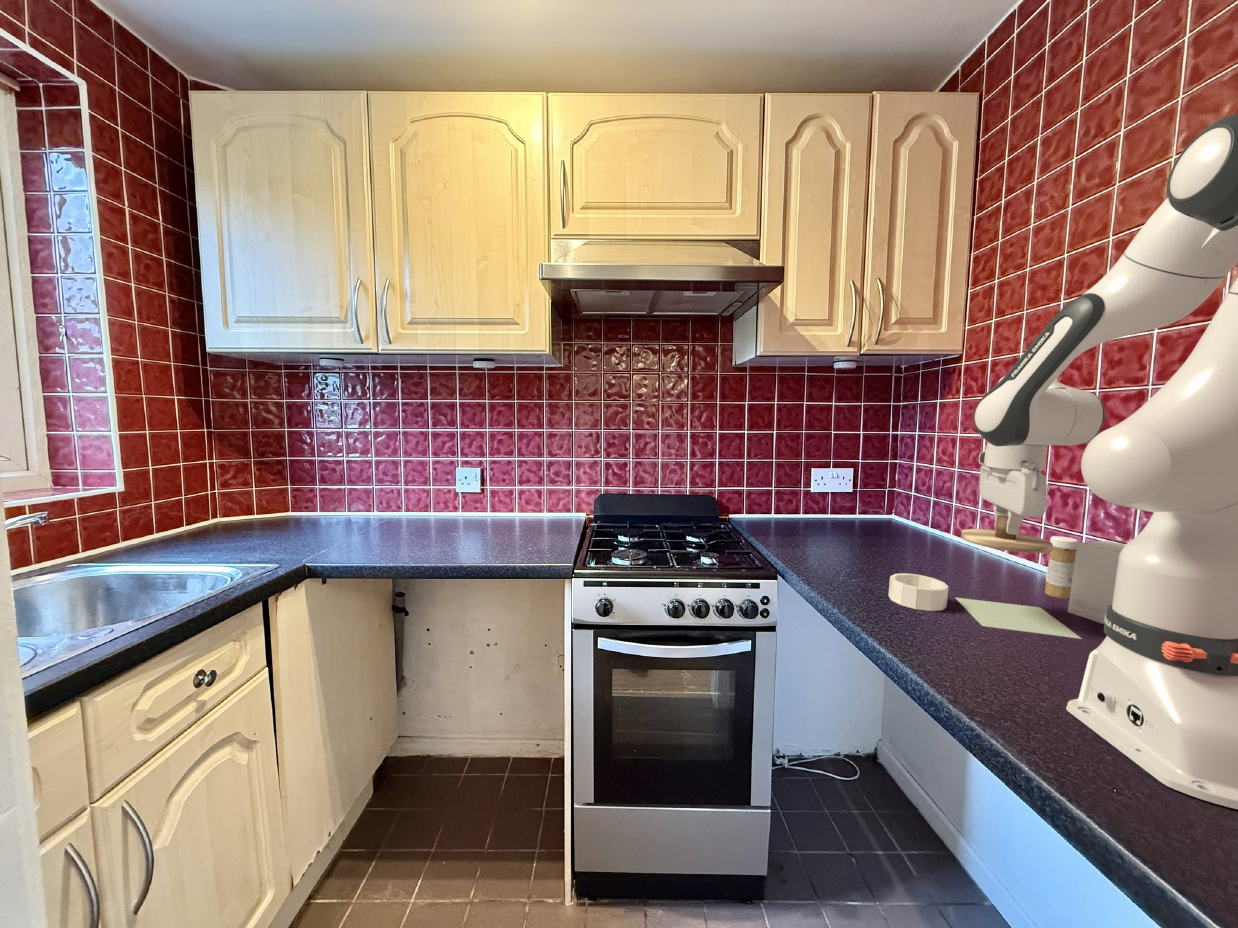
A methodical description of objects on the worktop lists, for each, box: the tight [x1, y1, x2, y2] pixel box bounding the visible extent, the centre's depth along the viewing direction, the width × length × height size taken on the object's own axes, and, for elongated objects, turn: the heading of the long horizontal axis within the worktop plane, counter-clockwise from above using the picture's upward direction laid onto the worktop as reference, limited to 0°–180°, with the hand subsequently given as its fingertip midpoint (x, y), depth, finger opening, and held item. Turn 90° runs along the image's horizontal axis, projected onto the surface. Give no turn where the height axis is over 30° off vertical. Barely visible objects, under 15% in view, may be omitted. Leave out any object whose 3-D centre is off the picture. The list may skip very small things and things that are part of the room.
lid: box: [960, 515, 1053, 554], centre depth 98 cm, size 14×14×5 cm
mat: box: [955, 597, 1083, 640], centre depth 98 cm, size 15×15×1 cm
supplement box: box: [1067, 540, 1126, 625], centre depth 98 cm, size 9×9×15 cm
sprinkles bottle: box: [1044, 535, 1079, 600], centre depth 110 cm, size 5×5×13 cm
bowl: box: [888, 572, 949, 612], centre depth 105 cm, size 10×10×5 cm
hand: (1006, 530), depth 98 cm, fingers closed on lid, 3 cm apart
